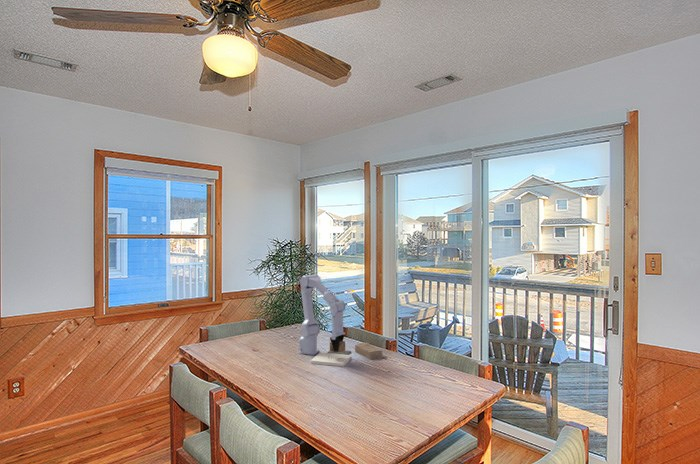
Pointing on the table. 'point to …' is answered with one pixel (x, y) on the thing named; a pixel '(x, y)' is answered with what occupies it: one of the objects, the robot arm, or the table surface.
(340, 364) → the board
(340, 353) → the mat
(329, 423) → the table surface
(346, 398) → the table surface
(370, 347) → the brick
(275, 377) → the table surface
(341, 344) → the block
